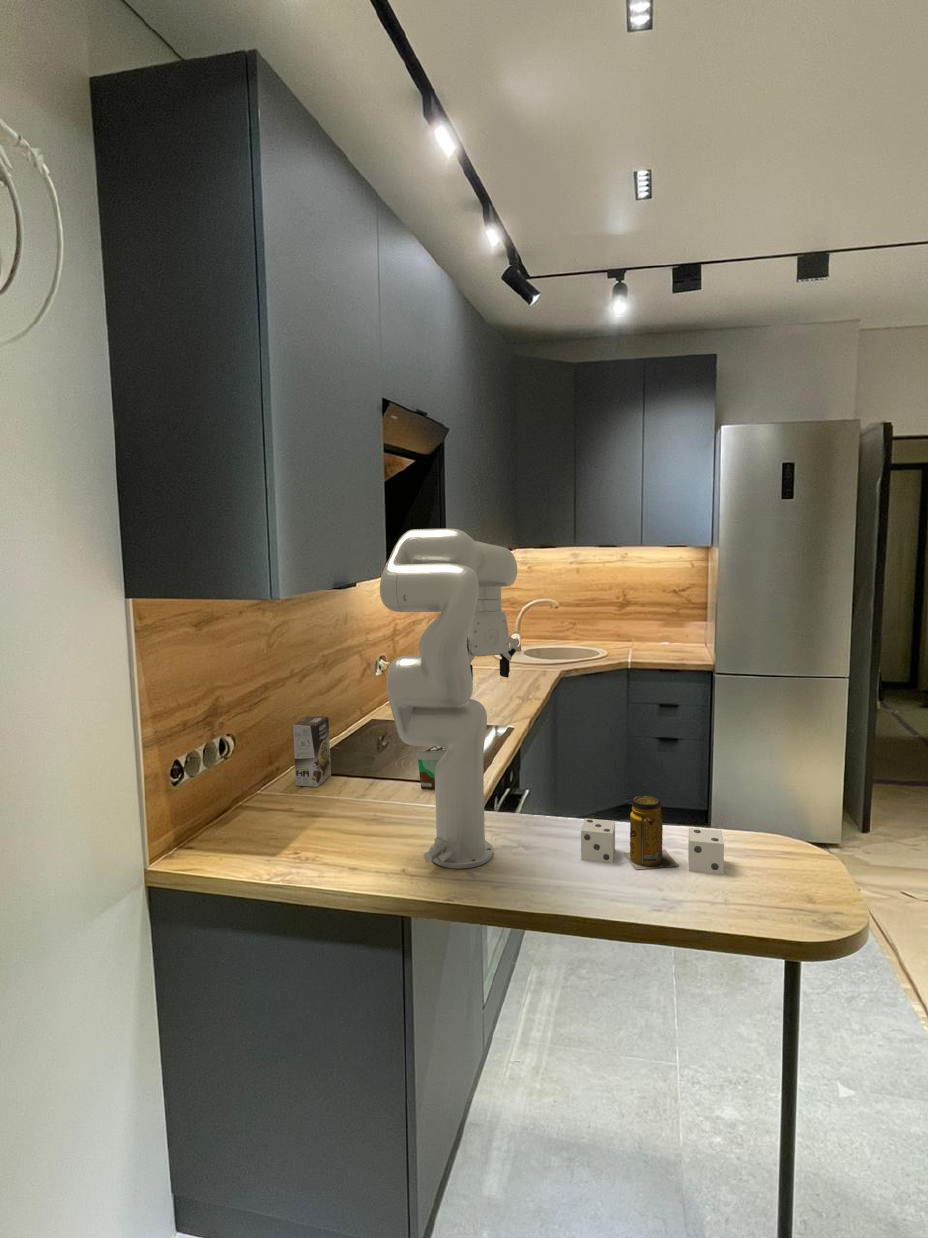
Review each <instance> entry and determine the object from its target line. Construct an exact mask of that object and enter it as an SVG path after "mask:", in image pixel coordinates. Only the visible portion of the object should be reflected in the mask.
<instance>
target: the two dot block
mask: <svg viewBox="0 0 928 1238" xmlns="http://www.w3.org/2000/svg"><path fill="white" fill-rule="evenodd" d="M724 841H725V840H724V836H723V830H719V829H707V828H696V827H695V828H694V827H688V845H687V846H688V850H687V851H688V852H687V853H688V855H687V857H688V872H691V873H692V872H693V873H704V874H711V875H712V874H713V875H722V876H723V875H724V864H725V861H724V857H725V842H724Z"/></svg>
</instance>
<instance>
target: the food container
mask: <svg viewBox="0 0 928 1238" xmlns="http://www.w3.org/2000/svg"><path fill="white" fill-rule="evenodd" d="M446 752H447V748H445V747H435V746H430V748H428V749H427V750H425V751H424V750H416V756H415V759H416V760H418V771H419V772H418V773H419V780H420V781H419V782H420V788H421V790H422V789H423V790H432V791H433V790H434V791H435V768H436V765H437V763H438V761H439V760H440V759H441V757H442V756H443V755H444V754H445V753H446Z"/></svg>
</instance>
